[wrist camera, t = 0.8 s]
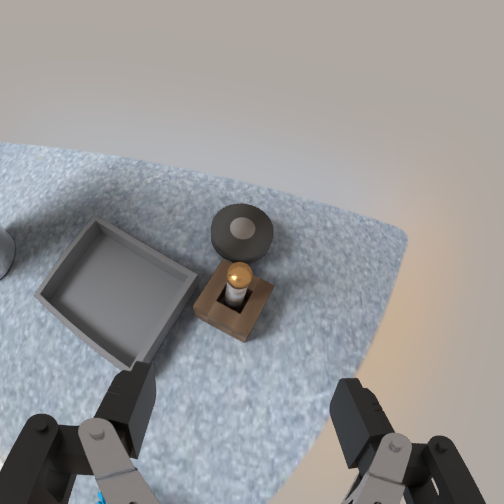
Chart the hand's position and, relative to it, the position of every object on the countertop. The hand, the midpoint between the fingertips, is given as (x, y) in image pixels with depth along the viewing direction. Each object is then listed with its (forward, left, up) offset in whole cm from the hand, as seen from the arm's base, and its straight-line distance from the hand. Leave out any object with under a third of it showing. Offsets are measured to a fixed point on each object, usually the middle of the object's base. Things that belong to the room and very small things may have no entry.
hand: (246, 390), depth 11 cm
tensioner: (-6, +15, -23) cm, 28 cm away
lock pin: (-4, +10, -23) cm, 25 cm away
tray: (-18, +3, -23) cm, 30 cm away
